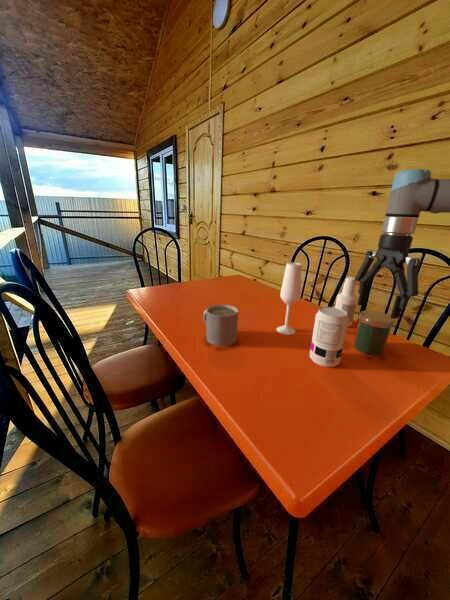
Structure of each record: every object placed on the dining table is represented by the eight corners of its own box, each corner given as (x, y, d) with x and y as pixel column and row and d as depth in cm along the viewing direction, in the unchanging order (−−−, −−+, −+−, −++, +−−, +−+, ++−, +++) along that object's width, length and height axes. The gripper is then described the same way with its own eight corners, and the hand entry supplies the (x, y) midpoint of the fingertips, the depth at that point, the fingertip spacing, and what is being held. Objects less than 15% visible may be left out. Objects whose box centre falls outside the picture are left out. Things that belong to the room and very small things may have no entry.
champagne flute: (274, 326, 93) (281, 261, 85) (292, 326, 94) (300, 261, 86) (279, 334, 87) (287, 265, 79) (298, 334, 87) (308, 265, 79)
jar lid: (389, 318, 79) (390, 313, 79) (395, 330, 71) (397, 324, 71) (357, 314, 82) (358, 308, 82) (360, 324, 74) (361, 318, 74)
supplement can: (303, 355, 75) (310, 307, 70) (326, 350, 78) (334, 305, 73) (321, 370, 68) (331, 319, 63) (346, 365, 70) (357, 315, 65)
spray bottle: (347, 329, 93) (357, 281, 87) (329, 323, 97) (337, 277, 91) (354, 324, 97) (364, 278, 91) (336, 318, 102) (344, 275, 96)
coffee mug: (242, 341, 82) (244, 312, 78) (216, 349, 76) (217, 318, 73) (220, 325, 92) (221, 299, 89) (196, 331, 87) (195, 304, 84)
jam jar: (381, 345, 82) (389, 315, 79) (386, 358, 75) (395, 325, 71) (352, 339, 85) (359, 310, 81) (354, 352, 78) (362, 320, 74)
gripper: (454, 239, 60) (425, 324, 67) (368, 230, 79) (354, 297, 87) (435, 239, 57) (408, 328, 64) (351, 230, 76) (337, 299, 84)
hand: (377, 310), depth 76 cm, fingers open, 10 cm apart
